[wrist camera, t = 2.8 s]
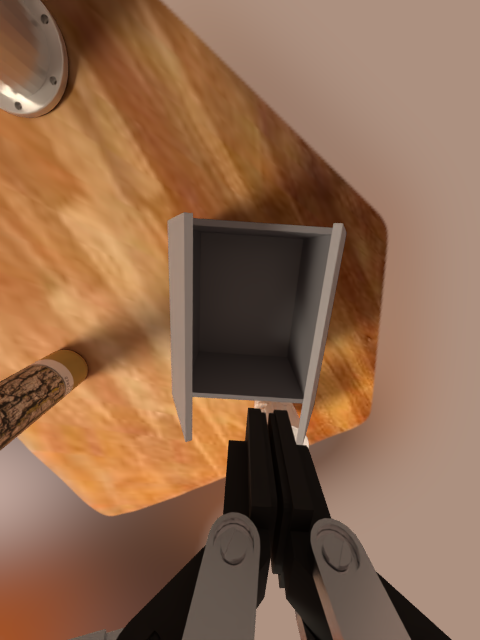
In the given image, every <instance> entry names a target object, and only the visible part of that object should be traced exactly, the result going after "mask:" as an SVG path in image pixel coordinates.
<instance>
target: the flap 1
mask: <svg viewBox="0 0 480 640" xmlns="http://www.w3.org/2000/svg"><path fill="white" fill-rule="evenodd" d="M168 254H169V292H170V330H171V368H172V395H173V399H174V402H175V406H176V410H177V413H178V417H179V420H180V424H181V427H182V431H183V435H184V438H185V442H187V441H191V440H192V321H193V213H185V212H184V213H182V214H180V215H178V216H176V217H174V218H172V219H170V220H168Z"/></svg>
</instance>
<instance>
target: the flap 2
mask: <svg viewBox="0 0 480 640" xmlns="http://www.w3.org/2000/svg"><path fill="white" fill-rule="evenodd" d="M345 238H346V230H345V227H344V225H343V223H334V224H333V230H332V235H331V241H330V247H329V253H328V259H327V265H326V270H325V276H324V282H323V288H322V294H321V300H320V305H319V311H318V317H317V323H316V329H315V335H314V340H313V346H312V352H311V358H310V364H309V369H308V375H307V381H306V387H305V393H304V399H303V404H302V410H301V416H300V422H299V428H298V434H297V439H296V445H303V443H304V439H305V435H306V432H307V428H308V424H309V421H310V417H311V414H312V410H313V406H314V402H315V397H316V392H317V386H318V381H319V376H320V371H321V365H322V360H323V355H324V349H325V344H326V339H327V334H328V328H329V323H330V318H331V312H332V307H333V302H334V297H335V291H336V286H337V281H338V275H339V270H340V265H341V260H342V254H343V249H344V244H345Z"/></svg>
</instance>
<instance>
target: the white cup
mask: <svg viewBox="0 0 480 640" xmlns="http://www.w3.org/2000/svg"><path fill="white" fill-rule="evenodd" d="M254 408H258V409H261V412H265V413H266V418H267V424H268V416H269V413H273V411H274V410H287V412H288V415H289V419H290V423H291V426H292V430H293V434H294V437H295V441H296V439H297V434H298V428H299V422H300V418H299V416H298V414H297V411H296V409H295V407H294V405H293V404H292V403H287V402H270V401H254ZM303 445H306V446H307V447H308V448H309V442H308V438H307V436H306V435H305V439H304V443H303Z"/></svg>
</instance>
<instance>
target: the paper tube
mask: <svg viewBox="0 0 480 640" xmlns="http://www.w3.org/2000/svg"><path fill="white" fill-rule="evenodd" d="M87 373H88V367H87V364H86V362H85V360H84V359H83V358H82V357H81V356H80V355H79V354H77V353H76V352H73V351H70V350H58V351H55V352H53V353H52V354H50V355H48V356H46V357H44V358H43V359H41V360H39V361H37V362H35V363H33V364H31V365H29V366H28V367H26V368H24V369H22V370H20V371H19V372H17V373H15V374H13V375H11V376H10V377H8V378H6V379H4V380H2V381H0V450H1V449H2V448H4V447H5V446H6V445H7V444H9V443H10V442H11V441H12V440H13V439H14V438H16V437H17V436H18V435H19V434H21V433H22V432H23V431H24V430H25V429H27V428H28V427H29V426H30V425H31V424H33V423H34V422H35V421H36V420H37V419H39V418H40V417H41V416H42V415H43V414H45V413H46V412H47V411H48V410H49V409H51V408H52V407H53V406H54V405H55V404H56V403H58V402H59V401H60V400H61V399H62V398H64V397H65V396H66V395H67V394H68V393H70V392H71V391H72V390H73V389H74V388H75V387H77V386H78V385H79V384H80V383H81V382H83V381H84V379H85V378H86V376H87Z"/></svg>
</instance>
